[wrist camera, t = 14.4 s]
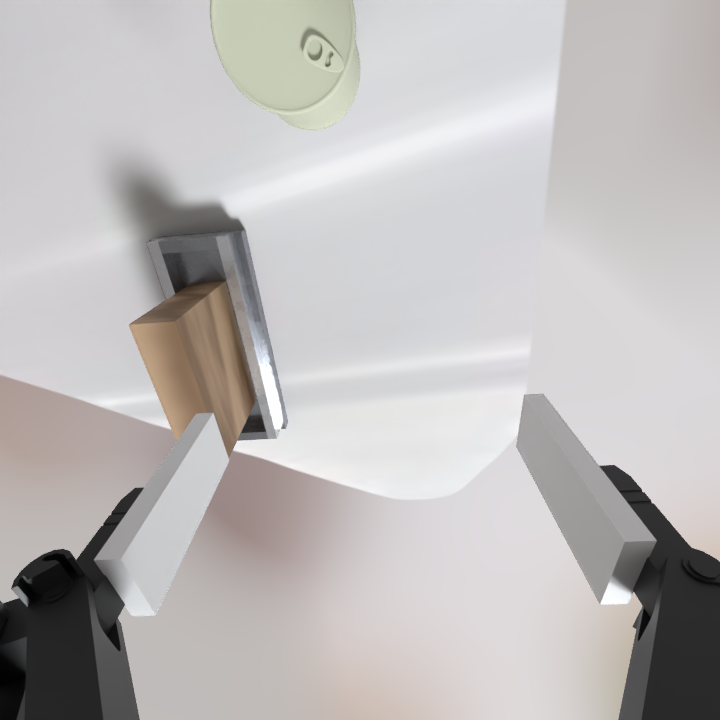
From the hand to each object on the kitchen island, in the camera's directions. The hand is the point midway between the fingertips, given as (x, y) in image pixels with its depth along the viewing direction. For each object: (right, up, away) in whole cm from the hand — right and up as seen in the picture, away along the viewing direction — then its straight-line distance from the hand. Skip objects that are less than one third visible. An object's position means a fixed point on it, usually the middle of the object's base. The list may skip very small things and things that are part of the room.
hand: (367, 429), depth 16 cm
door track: (-17, +5, +30) cm, 35 cm away
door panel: (-17, +5, +29) cm, 34 cm away
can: (-5, +29, +17) cm, 34 cm away
